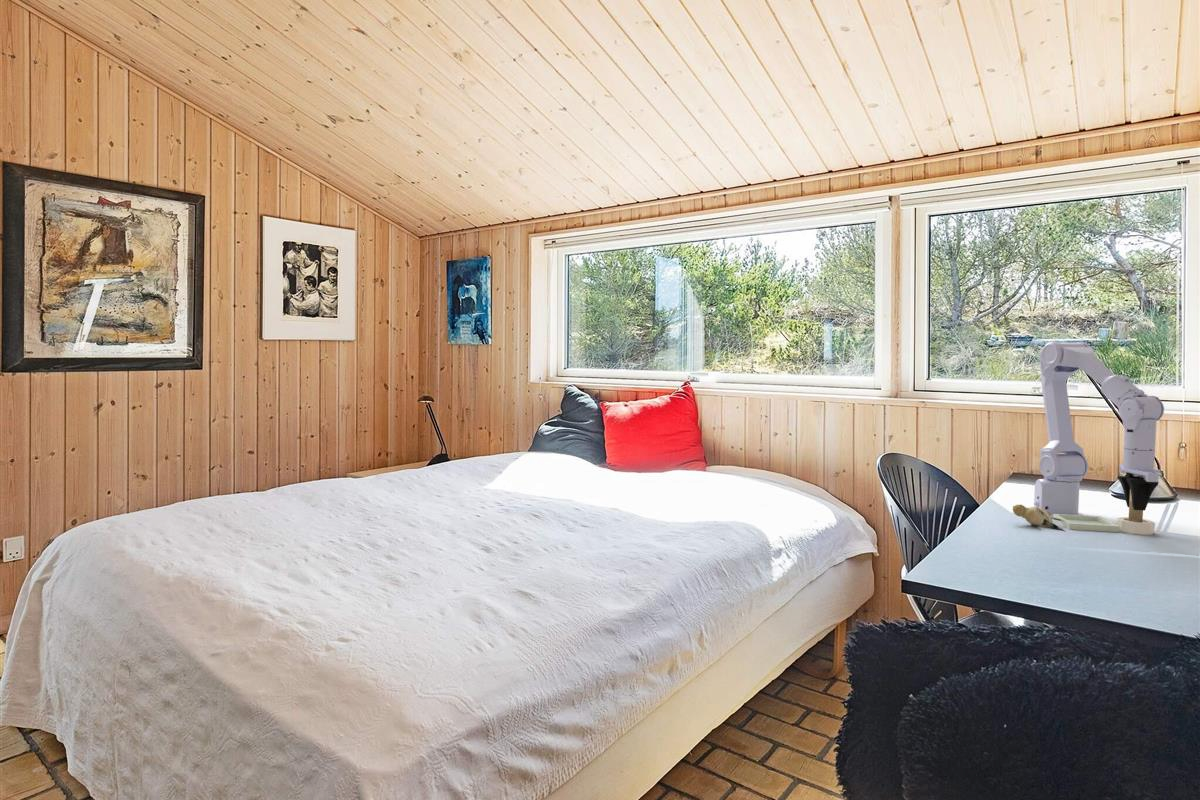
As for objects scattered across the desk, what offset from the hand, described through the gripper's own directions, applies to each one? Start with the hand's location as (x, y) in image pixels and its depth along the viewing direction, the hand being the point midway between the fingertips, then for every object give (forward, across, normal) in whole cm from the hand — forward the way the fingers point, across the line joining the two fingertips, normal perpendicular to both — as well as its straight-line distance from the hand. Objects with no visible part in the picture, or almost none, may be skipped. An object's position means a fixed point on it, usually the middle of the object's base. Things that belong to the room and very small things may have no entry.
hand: (1136, 508), depth 166 cm
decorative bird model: (+6, 0, +19) cm, 20 cm away
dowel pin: (+3, 0, 0) cm, 3 cm away
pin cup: (+6, 0, 0) cm, 6 cm away
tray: (+6, +3, +9) cm, 11 cm away
